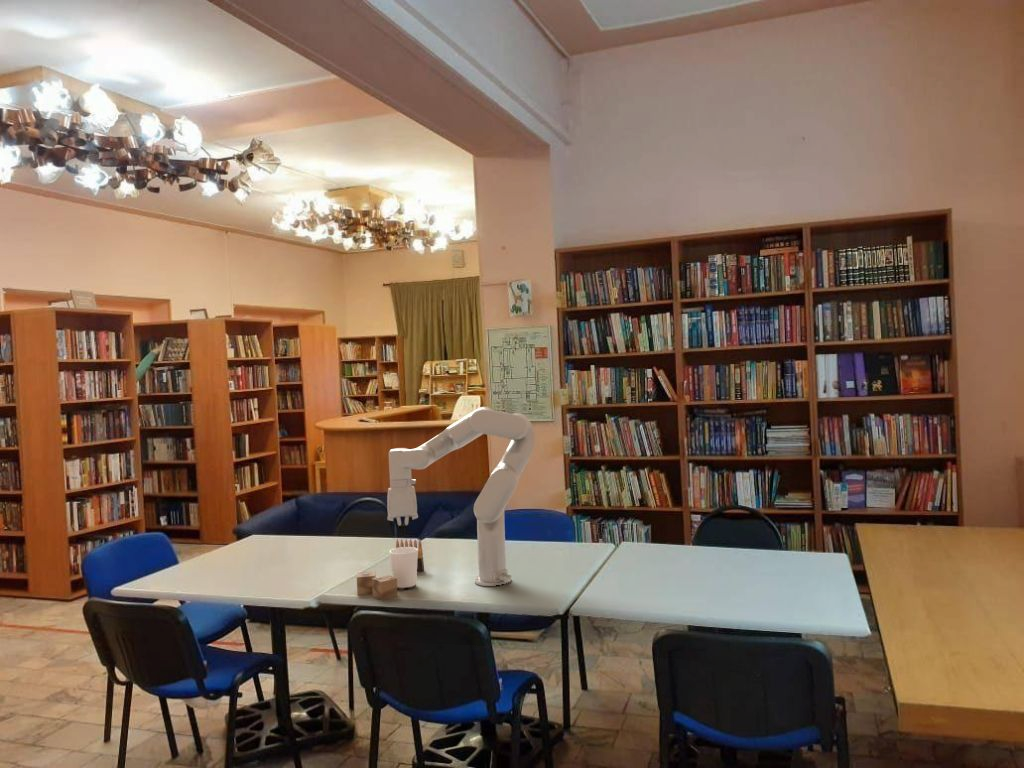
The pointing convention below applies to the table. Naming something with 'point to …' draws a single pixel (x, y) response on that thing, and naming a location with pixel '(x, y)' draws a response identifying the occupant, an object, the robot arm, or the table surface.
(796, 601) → the table surface
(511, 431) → the robot arm
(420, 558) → the ammunition clip
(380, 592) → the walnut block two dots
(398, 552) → the cup
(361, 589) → the walnut block one dot
